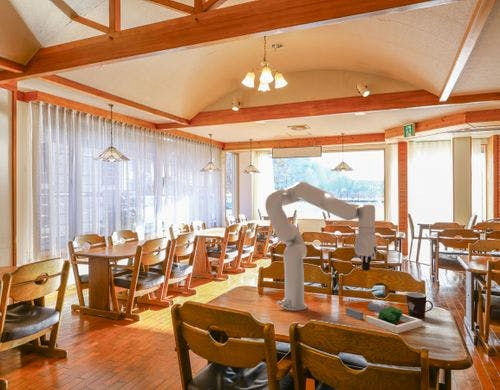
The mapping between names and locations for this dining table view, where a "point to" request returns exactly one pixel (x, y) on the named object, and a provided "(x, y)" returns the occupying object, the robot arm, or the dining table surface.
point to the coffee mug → (417, 304)
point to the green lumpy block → (390, 315)
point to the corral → (403, 327)
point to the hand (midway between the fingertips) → (366, 270)
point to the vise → (359, 314)
